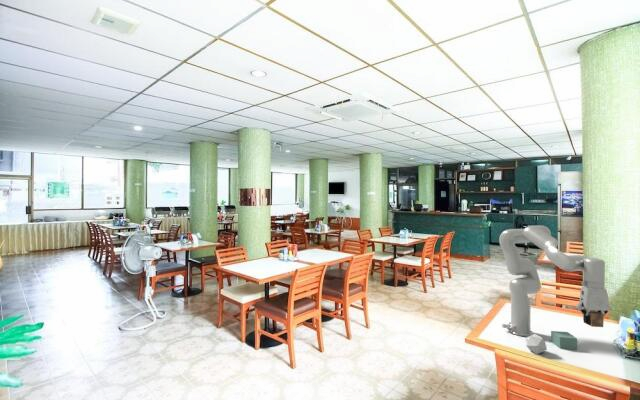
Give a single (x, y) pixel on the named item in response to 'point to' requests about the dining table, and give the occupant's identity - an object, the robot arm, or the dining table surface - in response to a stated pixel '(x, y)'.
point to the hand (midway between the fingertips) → (593, 323)
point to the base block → (564, 340)
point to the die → (535, 344)
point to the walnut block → (596, 319)
